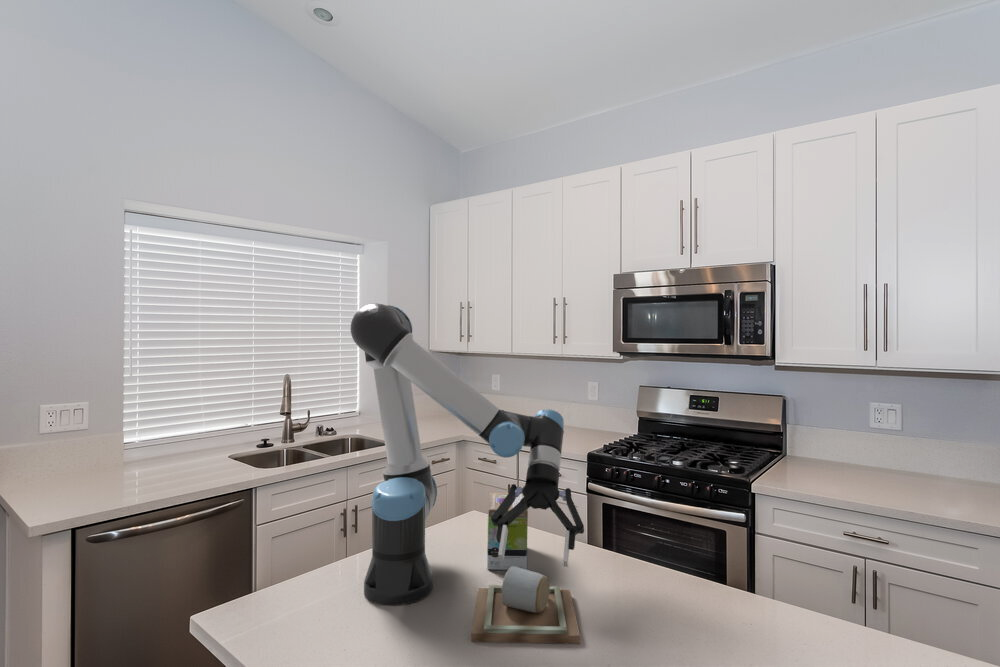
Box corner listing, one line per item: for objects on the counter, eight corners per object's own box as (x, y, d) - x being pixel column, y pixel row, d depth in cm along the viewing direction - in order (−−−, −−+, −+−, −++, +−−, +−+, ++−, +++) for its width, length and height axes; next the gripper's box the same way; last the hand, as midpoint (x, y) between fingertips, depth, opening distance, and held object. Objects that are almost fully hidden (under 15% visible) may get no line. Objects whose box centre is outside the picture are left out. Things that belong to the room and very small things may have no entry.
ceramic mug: (538, 621, 104) (539, 581, 105) (500, 612, 108) (500, 573, 108) (556, 598, 114) (556, 561, 114) (520, 590, 117) (520, 554, 118)
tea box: (528, 571, 130) (528, 509, 130) (486, 570, 131) (486, 509, 131) (526, 546, 145) (526, 491, 146) (488, 546, 146) (488, 491, 146)
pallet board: (471, 641, 100) (471, 629, 100) (478, 594, 118) (478, 584, 118) (579, 643, 100) (579, 631, 100) (570, 596, 118) (570, 586, 118)
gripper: (597, 481, 127) (594, 574, 112) (494, 474, 132) (478, 561, 118) (597, 464, 121) (592, 559, 107) (489, 458, 127) (471, 547, 112)
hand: (532, 560), depth 112 cm, fingers open, 13 cm apart
